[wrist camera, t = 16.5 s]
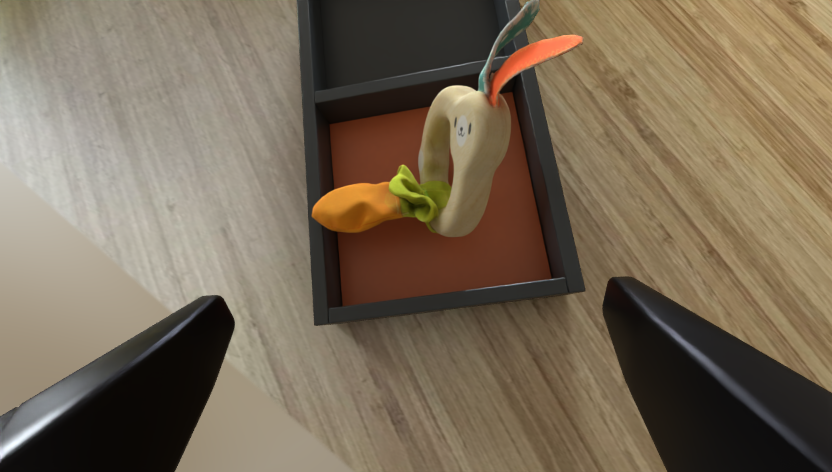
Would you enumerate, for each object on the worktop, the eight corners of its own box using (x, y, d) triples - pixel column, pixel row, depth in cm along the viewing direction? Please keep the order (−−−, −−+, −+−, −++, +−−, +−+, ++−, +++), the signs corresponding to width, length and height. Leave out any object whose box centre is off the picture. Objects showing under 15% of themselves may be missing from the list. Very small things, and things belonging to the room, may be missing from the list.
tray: (488, -68, 26) (492, -116, 23) (567, 294, 20) (586, 291, 17) (310, -29, 27) (292, -71, 24) (333, 324, 21) (313, 326, 18)
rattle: (342, 115, 21) (340, -115, 11) (470, 151, 22) (588, -25, 12) (308, 230, 19) (260, 86, 8) (453, 264, 20) (580, 175, 9)
